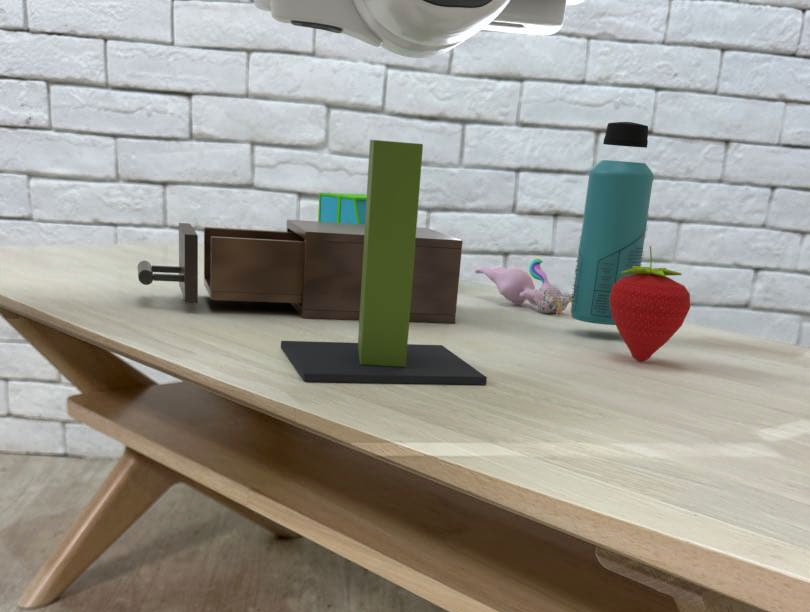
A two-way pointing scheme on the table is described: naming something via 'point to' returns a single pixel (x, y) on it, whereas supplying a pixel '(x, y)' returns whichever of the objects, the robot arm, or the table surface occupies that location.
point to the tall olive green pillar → (389, 252)
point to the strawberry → (648, 308)
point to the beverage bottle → (611, 225)
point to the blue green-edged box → (342, 208)
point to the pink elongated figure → (527, 287)
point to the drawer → (236, 265)
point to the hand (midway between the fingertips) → (402, 1)
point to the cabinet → (342, 272)
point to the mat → (345, 366)
